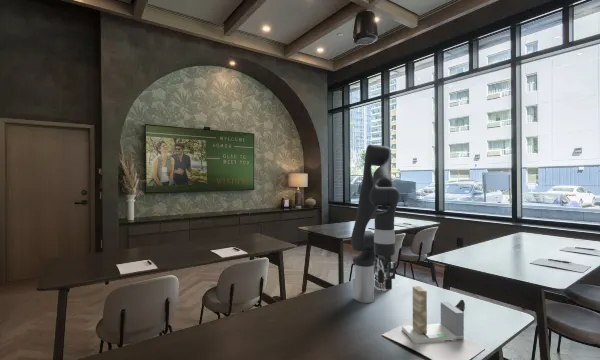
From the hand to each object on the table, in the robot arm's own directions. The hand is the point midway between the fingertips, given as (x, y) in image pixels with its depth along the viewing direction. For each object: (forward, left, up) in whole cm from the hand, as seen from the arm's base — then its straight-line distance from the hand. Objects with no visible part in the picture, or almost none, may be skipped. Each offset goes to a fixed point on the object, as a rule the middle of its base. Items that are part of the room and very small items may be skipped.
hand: (384, 285), depth 118 cm
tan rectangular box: (+10, +10, -18) cm, 23 cm away
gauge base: (+12, +15, -20) cm, 27 cm away
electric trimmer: (+13, +43, -20) cm, 49 cm away
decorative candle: (-26, +47, -20) cm, 57 cm away
